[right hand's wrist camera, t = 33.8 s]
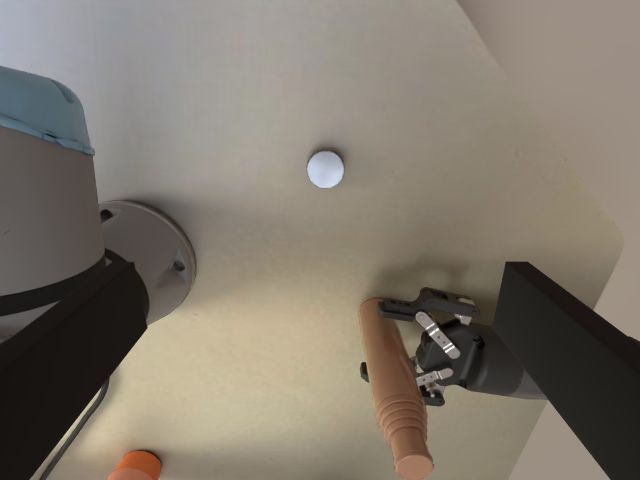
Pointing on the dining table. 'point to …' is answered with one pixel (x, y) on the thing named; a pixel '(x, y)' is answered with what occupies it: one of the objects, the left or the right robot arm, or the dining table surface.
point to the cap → (325, 168)
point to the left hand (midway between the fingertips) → (369, 340)
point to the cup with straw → (137, 467)
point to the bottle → (395, 393)
